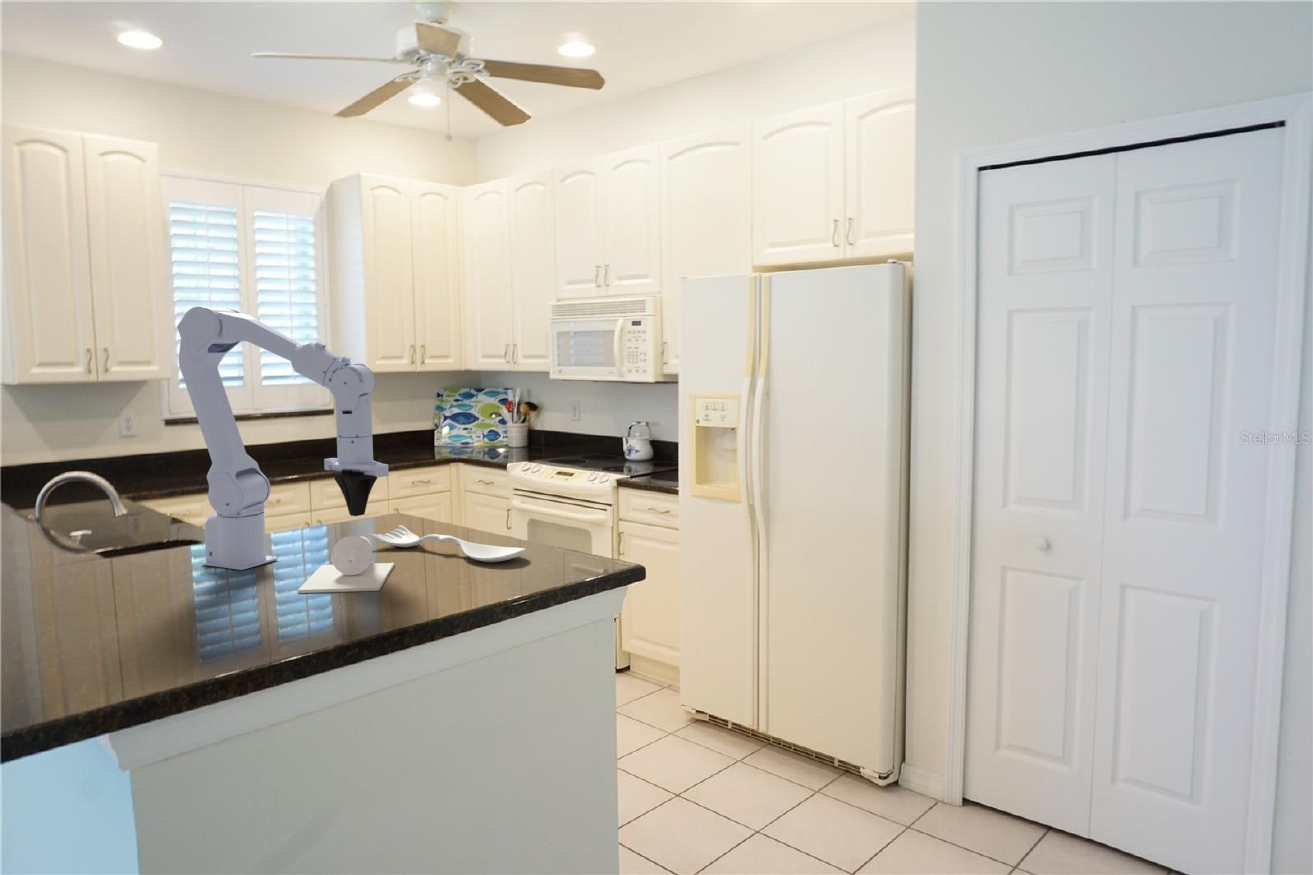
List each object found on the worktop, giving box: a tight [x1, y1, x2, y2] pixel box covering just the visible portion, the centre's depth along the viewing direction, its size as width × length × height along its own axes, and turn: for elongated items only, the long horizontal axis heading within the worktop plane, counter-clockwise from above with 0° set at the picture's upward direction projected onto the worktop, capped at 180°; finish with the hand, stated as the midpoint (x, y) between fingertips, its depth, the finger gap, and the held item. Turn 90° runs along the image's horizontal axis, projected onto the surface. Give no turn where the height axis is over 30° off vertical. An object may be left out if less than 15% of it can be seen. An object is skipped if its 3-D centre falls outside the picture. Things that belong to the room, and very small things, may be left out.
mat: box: [297, 562, 395, 594], centre depth 140 cm, size 15×12×1 cm
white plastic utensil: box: [366, 524, 527, 563], centre depth 157 cm, size 9×32×4 cm, turn 63°
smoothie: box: [330, 535, 374, 575], centre depth 142 cm, size 6×6×14 cm
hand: (357, 515), depth 147 cm, fingers closed
